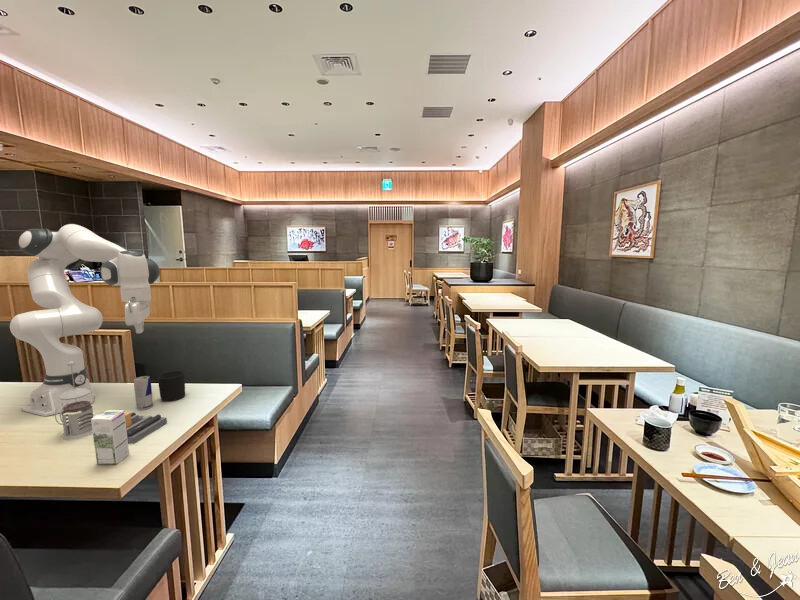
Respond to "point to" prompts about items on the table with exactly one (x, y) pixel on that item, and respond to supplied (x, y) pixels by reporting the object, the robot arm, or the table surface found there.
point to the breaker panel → (146, 430)
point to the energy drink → (143, 392)
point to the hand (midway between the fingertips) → (139, 332)
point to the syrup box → (110, 436)
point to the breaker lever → (128, 419)
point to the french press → (74, 427)
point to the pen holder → (172, 386)
